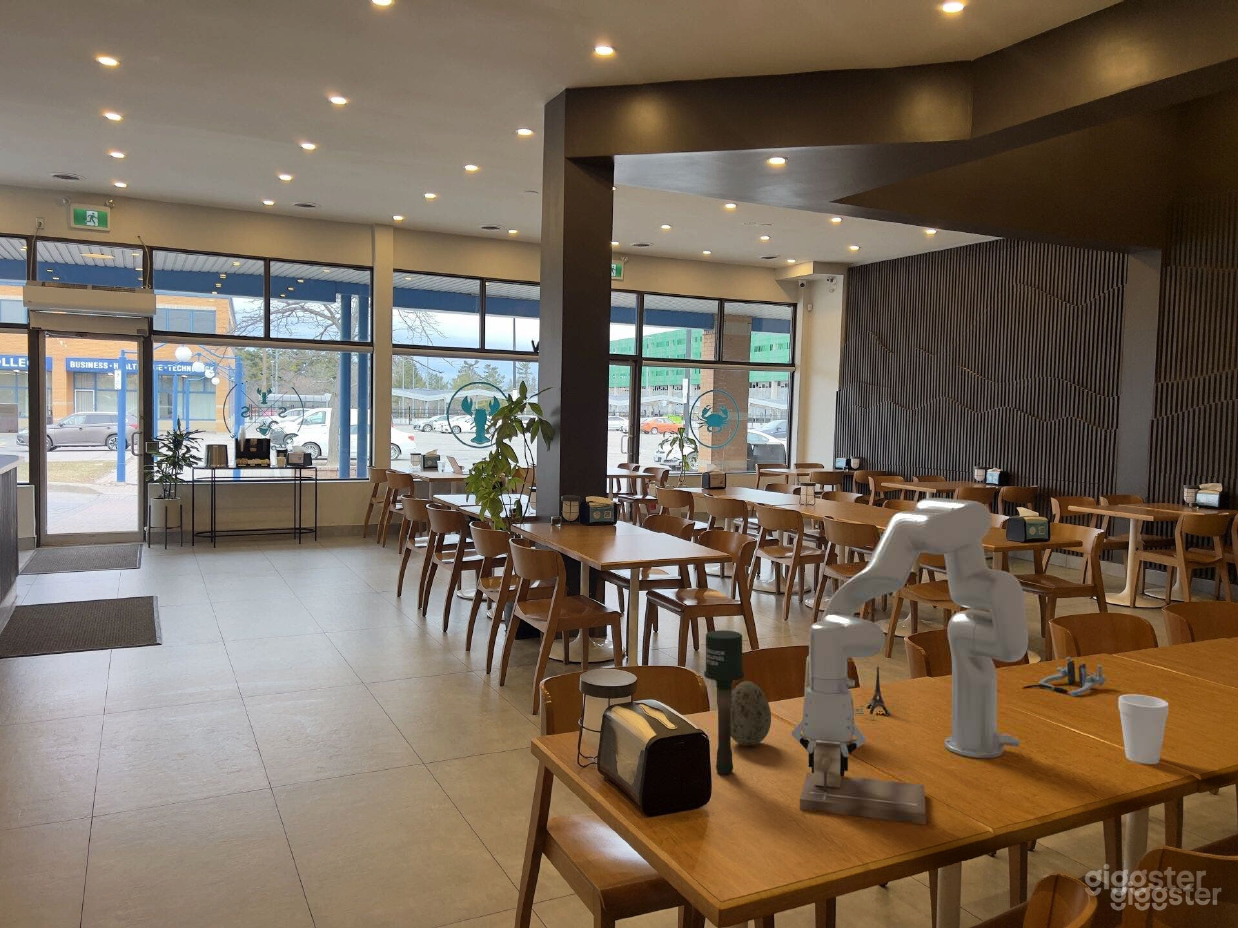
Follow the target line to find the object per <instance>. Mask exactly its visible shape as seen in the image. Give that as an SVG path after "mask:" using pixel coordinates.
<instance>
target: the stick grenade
mask: <svg viewBox="0 0 1238 928" xmlns="http://www.w3.org/2000/svg"><path fill="white" fill-rule="evenodd" d="M703 674H704V676H703V677H705V678H706V679H709V680H712V681H715V683H716V686H715V687H716V705H717V745H718V746H717V750H716V762H715V763H716V765H715V769H716V772H717V773H718V774H719V775H723V776H724V775H725V776H726V775H731V774H732V773H733V770H734V763H733V751H732V747H731V746H732V745H731V743H732V742H731V739H732V737H731V704H732V691H733V689H732V688H733V682H735V681H739V680H743V678H745V671H744V670H743V635H742V633H740V632H738V631H734V630H724V629H723V630H712V631H708V632H706V634H705V671H704V672H703Z"/></svg>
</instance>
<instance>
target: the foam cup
mask: <svg viewBox="0 0 1238 928" xmlns="http://www.w3.org/2000/svg"><path fill="white" fill-rule="evenodd" d="M1118 710H1119V715H1120V722H1121V729H1122V738H1123V743H1124V744H1123V745H1124V751H1125V752H1124V753H1125V758H1126V759H1127V760H1130V761H1131V762H1135V763H1138V764H1144V765H1145V764H1146V765H1157V764H1159V763H1160V758H1161V753H1162V752H1161V751H1162V746H1163V740H1164V734H1165V728H1166V723H1167V717H1168V716H1169V702H1167V701H1166V700H1164V699H1161V698H1158V697H1155V696H1149V695H1146V694H1136V693H1135V694H1123V695H1119V697H1118Z"/></svg>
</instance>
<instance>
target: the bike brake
mask: <svg viewBox="0 0 1238 928" xmlns="http://www.w3.org/2000/svg"><path fill="white" fill-rule="evenodd" d="M1065 658H1066V667H1062V666H1058V667H1057V668H1056V670H1057V672H1058V673H1056V674H1052V675H1049V676H1046V677H1044V678H1042V679H1040V680H1039V681H1038V682H1037V684H1029V685H1026V686H1023V687H1022V689H1023V690H1024V689H1028V688H1029V689H1030V688H1042V689H1045V690H1049V691H1055V692H1057V693H1063V694H1068V693H1070V695H1071V697H1078V696H1082V694H1085V693H1086V692H1088V691H1089V690H1091V689H1092V688H1093V687H1094V686H1097V685H1098V686H1100V687H1102V686H1103V685H1104V684H1105V683H1106V681H1107V679H1106V676H1105V675H1103V666H1102V664H1097V673H1092V674H1089V673H1087V672H1088V670H1087V663H1082V664H1081V665H1079V666H1078V679H1079V681H1078V682H1079V683H1078V685H1079V687H1080V688H1078V689H1072V690H1071V691H1069V690H1068V689H1066V688H1063V687H1058V686H1054V685H1053V684H1049V682H1054V681H1059V680H1063V679H1065V678H1067V681H1068V682H1067V683H1068V685H1069V686H1072V685H1074V684H1076V680H1077V679H1076V670H1075V668H1076V667H1075V661H1074V660H1071V657H1070V656H1067V657H1065Z"/></svg>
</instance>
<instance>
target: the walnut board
mask: <svg viewBox="0 0 1238 928" xmlns="http://www.w3.org/2000/svg"><path fill="white" fill-rule="evenodd" d="M925 797H926V795H925V784H921V783H911V782H910V783H909V782H900V781H891V780H884V779H874V778H863V777H855V776H846V775H844V776H842V777H841V783H840V788H838V787H829V786H827V792H824V786H820V785H814V773H812V772H808V771H807V772H806V775H805V779H804V782H803V786H802V790H801V794H800V797H799V810H803V811H812V812H820V813H828V814H836V815H843V816H844V815H845V816H853V817H860V818H868V817H869V818H870V819H876V820H886V821H894V822H901V821H903V822H902V823H910V824H916V825H918V824H919V825H926V824H927V821H926V819H927V816H926V815H927V814H926V798H925ZM869 818H868V819H869Z"/></svg>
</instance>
